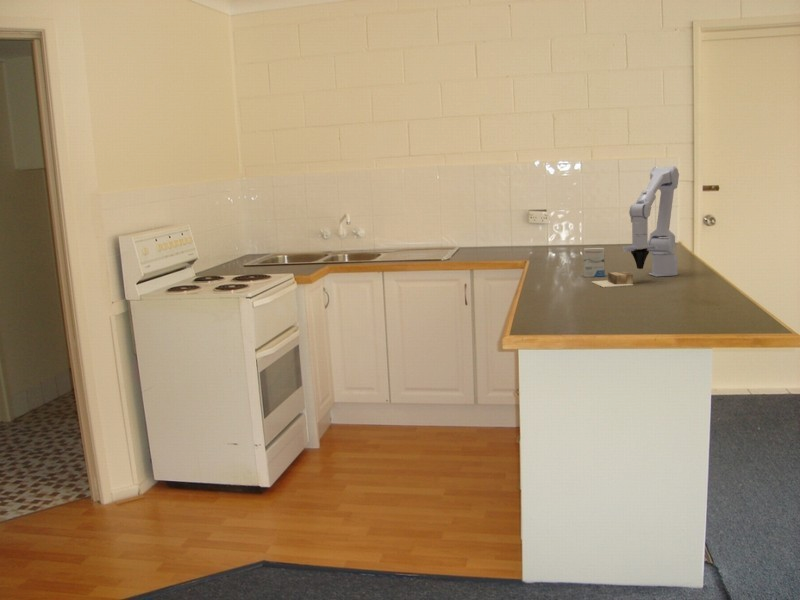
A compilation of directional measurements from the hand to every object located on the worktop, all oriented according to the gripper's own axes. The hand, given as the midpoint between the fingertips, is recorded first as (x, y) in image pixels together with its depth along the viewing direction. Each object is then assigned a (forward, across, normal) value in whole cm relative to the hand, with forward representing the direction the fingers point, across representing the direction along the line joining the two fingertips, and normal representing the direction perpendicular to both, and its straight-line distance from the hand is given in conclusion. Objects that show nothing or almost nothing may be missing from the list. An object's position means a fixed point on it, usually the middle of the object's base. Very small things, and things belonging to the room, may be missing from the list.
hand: (640, 268), depth 302 cm
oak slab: (+3, +4, -1) cm, 6 cm away
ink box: (+6, +6, -25) cm, 26 cm away
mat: (+5, +11, -2) cm, 13 cm away
